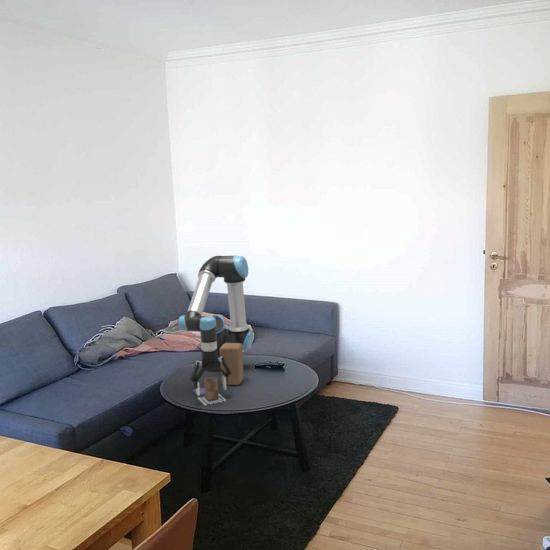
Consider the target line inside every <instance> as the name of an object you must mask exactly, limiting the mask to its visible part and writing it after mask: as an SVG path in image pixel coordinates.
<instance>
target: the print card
mask: <svg viewBox="0 0 550 550" xmlns="http://www.w3.org/2000/svg"><path fill="white" fill-rule="evenodd" d="M197 399H198V401H199V402H200V403H201V404H202V405H203V406H208V405H207V404H210V405H214V404H218V402H219V403H224V402H227V399H226V398H225V397H223V396H222V395H221V394H220V393H218V399H219V400H215V401H210V402H208V401H207V400H206V399H205V396H204V397H197ZM223 401H224V402H223ZM213 403H214V404H213Z"/></svg>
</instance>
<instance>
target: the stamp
mask: <svg viewBox="0 0 550 550" xmlns="http://www.w3.org/2000/svg"><path fill="white" fill-rule="evenodd" d="M203 381H204V383H203V384H204V388H205V399H206V400H207V401H208V402H210V401H215V400H219V399H218V394H219V386H218V384H219V381H218V379H217V378H216V377H214V376H212V377H210V376H209V377H204V378H203Z"/></svg>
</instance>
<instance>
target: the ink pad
mask: <svg viewBox="0 0 550 550" xmlns="http://www.w3.org/2000/svg"><path fill="white" fill-rule="evenodd" d="M199 389H200V395H199V396H198V395H197V393H196V389H195V388H194V389H192V393H194V394H195V395H196V396H197V398H199V397H203V396H205V387H199Z"/></svg>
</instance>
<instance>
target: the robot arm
mask: <svg viewBox="0 0 550 550" xmlns="http://www.w3.org/2000/svg"><path fill="white" fill-rule="evenodd" d="M248 276H249V264H248V261H247V259H246V258H245V257H244V255H243V256H242V255H214V256H211V257H210V258H209V259H207V260H206V261H205V262H204V263H203V264H202V266H201V267H200V268H199V271H198V273H197V278H198V280H197V281H196V285H195V288H194V291H193V294H192V297H191V298H190V299H191V300H190V302H189V306H188V309H187V311H186V314H183V315H181V316H179V317H178V328H179V330H181V331H182V332H183V331H184V332H200V346H201V347H200V349H201V361H200V360H195V364H194V367H193V371H192V373H191V375H190V377H189V380H190V382H191V383H193V387H194V390H195V389H196V393H197V395H198V396H199V395H200V382H199V380H200V379H201V378H202V376H203V374H205V372H206V371H209V372H220V373H221V372H222V373H223V374H224V375H223V376H222V378H223V384H222V389H223V390H224V391H226V390H227V385H226V383H227V382H228V375H230V374H231V372H230V370H229V368H228V367H227V365H226V363H225V361H224V358H223V357H222V356H221V357H220V347H221V346H222V345H223V344H224V343H241V344H242V349H243V351H244V352H245V351H249V350H250V349H251V348H252V345H253V342H254V330H253V329H250V324H249V325H248V323H247V317H246V307H245V306H246V303H245V292H244V282H245V281H246V278H247V277H248ZM217 278H223V282H224V283H225V284H226V288H227V289H226V290H227V297H228V309H229V319H230V324H229V326H228V327H227V326H226V325H225V324H226V320H225V318H224V317H223V316H222V315H221V314H214V315H212V316H208V315H207V316H206V315H203V312H204V309H205V307H206V302H207V300H208V297H209V294H210V292H211V288H212V286H213V285H212V284H213V283H214V282H216V279H217ZM220 362H221V363H222V365H223V366H224V368H225V370H226V371H227V372H225V371H223V370H222V369H221V368H220ZM201 365H202V366H201ZM200 366H201V367H200ZM199 368H200V369H199ZM197 395H196V396H197ZM198 396H197V397H198Z"/></svg>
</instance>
